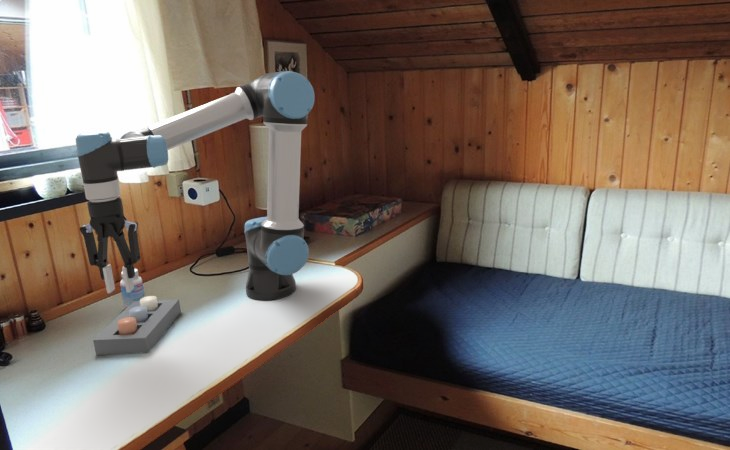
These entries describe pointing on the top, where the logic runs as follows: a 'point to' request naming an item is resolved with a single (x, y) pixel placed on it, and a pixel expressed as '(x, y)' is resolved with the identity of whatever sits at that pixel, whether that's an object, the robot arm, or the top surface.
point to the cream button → (149, 303)
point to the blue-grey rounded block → (139, 313)
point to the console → (146, 332)
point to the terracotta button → (127, 326)
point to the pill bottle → (135, 293)
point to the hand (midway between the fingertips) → (120, 290)
